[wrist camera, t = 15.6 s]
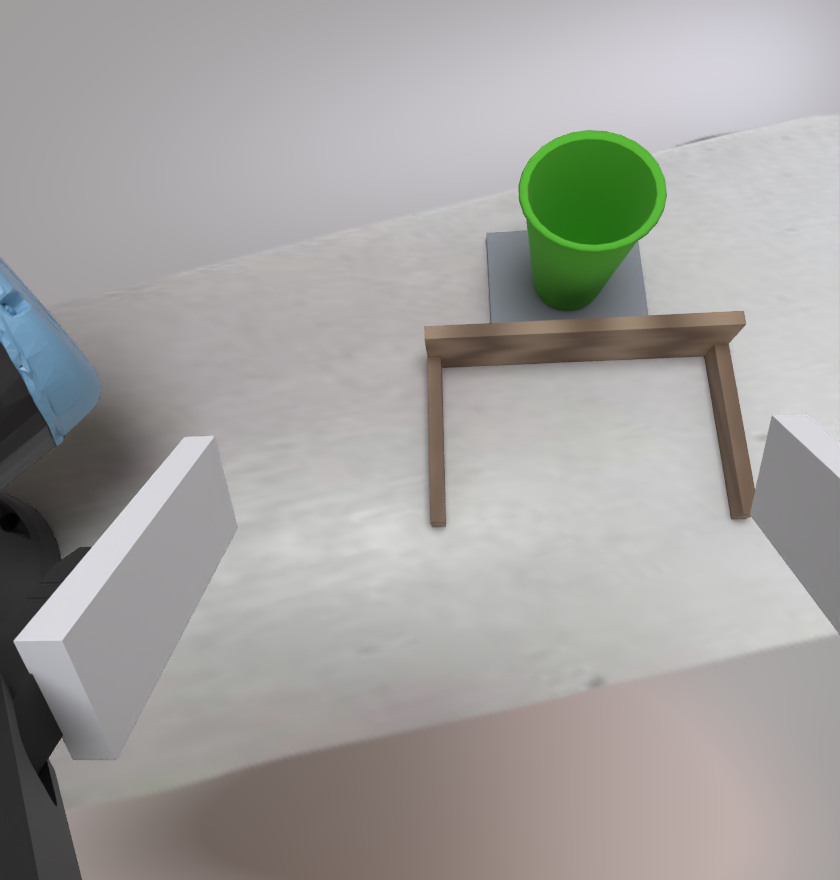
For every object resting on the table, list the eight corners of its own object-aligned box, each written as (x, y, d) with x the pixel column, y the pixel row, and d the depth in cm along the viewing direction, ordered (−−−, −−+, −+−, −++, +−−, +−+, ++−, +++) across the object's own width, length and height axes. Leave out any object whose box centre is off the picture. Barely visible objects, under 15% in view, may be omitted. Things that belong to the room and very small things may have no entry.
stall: (432, 526, 44) (427, 514, 40) (428, 356, 48) (424, 326, 44) (746, 518, 43) (780, 504, 38) (716, 343, 47) (743, 310, 42)
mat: (492, 347, 48) (492, 343, 47) (486, 238, 51) (486, 233, 50) (648, 340, 47) (651, 335, 47) (633, 230, 50) (635, 224, 50)
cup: (605, 349, 47) (644, 268, 36) (492, 314, 48) (498, 226, 38) (639, 252, 49) (684, 149, 38) (530, 221, 50) (545, 114, 40)
